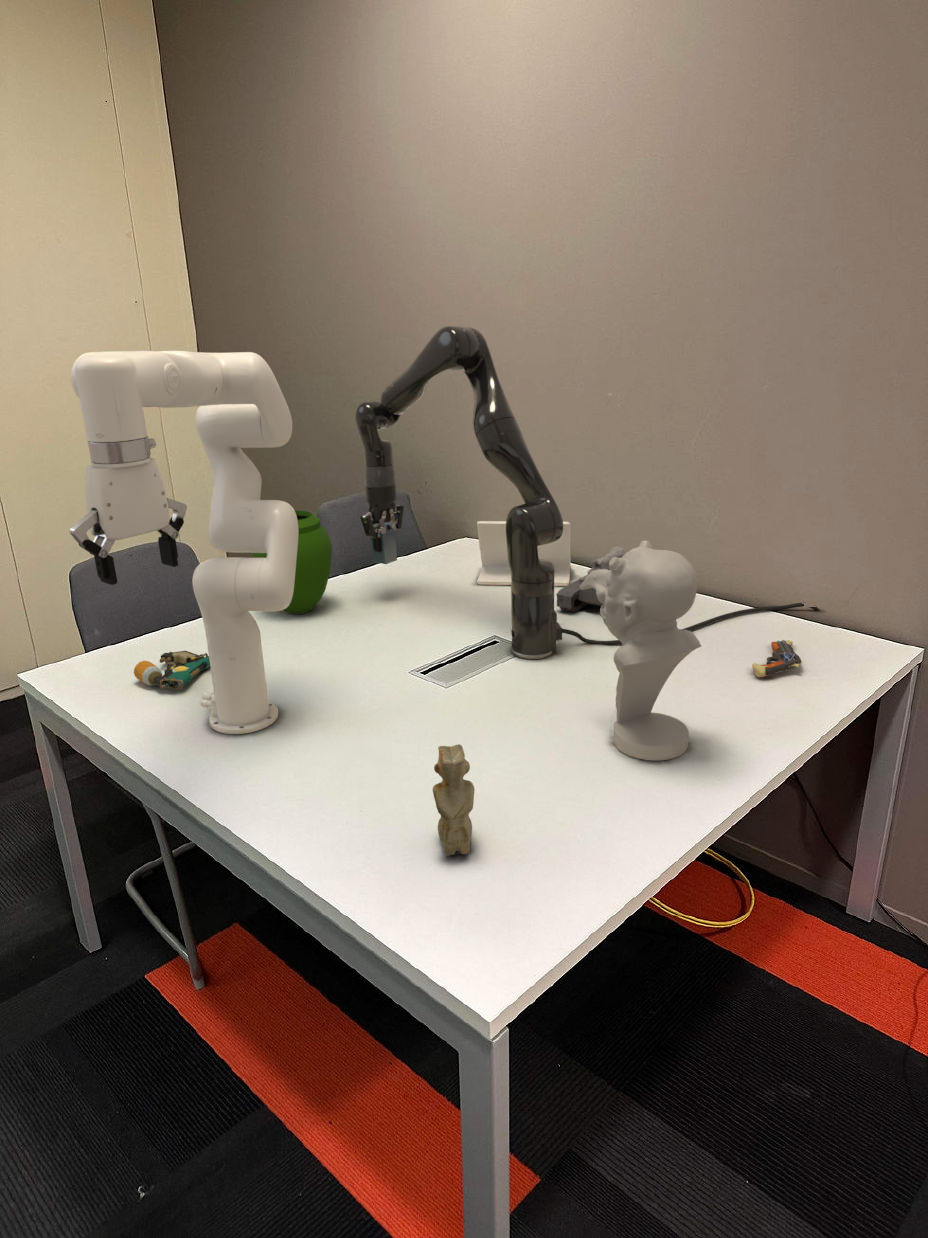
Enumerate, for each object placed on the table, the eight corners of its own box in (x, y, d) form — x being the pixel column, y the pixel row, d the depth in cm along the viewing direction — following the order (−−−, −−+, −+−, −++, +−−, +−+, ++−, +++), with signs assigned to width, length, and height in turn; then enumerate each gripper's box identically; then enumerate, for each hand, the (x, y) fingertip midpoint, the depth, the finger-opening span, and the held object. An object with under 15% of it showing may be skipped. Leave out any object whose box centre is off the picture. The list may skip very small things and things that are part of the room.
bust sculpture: (625, 695, 166) (632, 519, 153) (713, 748, 146) (730, 550, 133) (556, 715, 159) (558, 532, 146) (639, 773, 139) (650, 567, 127)
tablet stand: (569, 585, 229) (570, 524, 223) (476, 584, 232) (475, 523, 226) (570, 566, 246) (571, 508, 240) (484, 564, 249) (483, 507, 243)
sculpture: (474, 829, 125) (472, 739, 120) (477, 859, 119) (474, 765, 113) (434, 831, 125) (430, 741, 120) (435, 861, 119) (431, 767, 113)
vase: (352, 603, 220) (345, 511, 212) (301, 627, 205) (291, 529, 197) (296, 592, 230) (287, 503, 222) (243, 614, 215) (231, 520, 206)
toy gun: (755, 668, 170) (808, 665, 168) (743, 639, 188) (791, 635, 186) (755, 681, 171) (808, 678, 169) (744, 650, 189) (791, 647, 187)
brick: (383, 557, 222) (381, 527, 219) (397, 560, 220) (395, 529, 217) (372, 561, 219) (369, 531, 216) (385, 564, 216) (383, 533, 214)
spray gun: (177, 659, 191) (231, 671, 185) (120, 684, 176) (176, 698, 171) (176, 641, 190) (230, 653, 184) (118, 665, 175) (174, 678, 169)
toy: (603, 584, 229) (605, 530, 224) (673, 597, 218) (677, 540, 213) (555, 612, 210) (556, 553, 205) (630, 627, 199) (633, 566, 194)
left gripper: (159, 441, 123) (177, 555, 129) (43, 460, 110) (68, 585, 116) (191, 445, 119) (207, 562, 125) (73, 465, 106) (98, 595, 112)
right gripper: (388, 476, 219) (392, 540, 225) (349, 486, 209) (354, 553, 215) (410, 479, 215) (414, 544, 221) (371, 489, 205) (376, 558, 210)
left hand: (140, 573), depth 121 cm, fingers open, 9 cm apart
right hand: (384, 548), depth 218 cm, fingers closed on brick, 4 cm apart
